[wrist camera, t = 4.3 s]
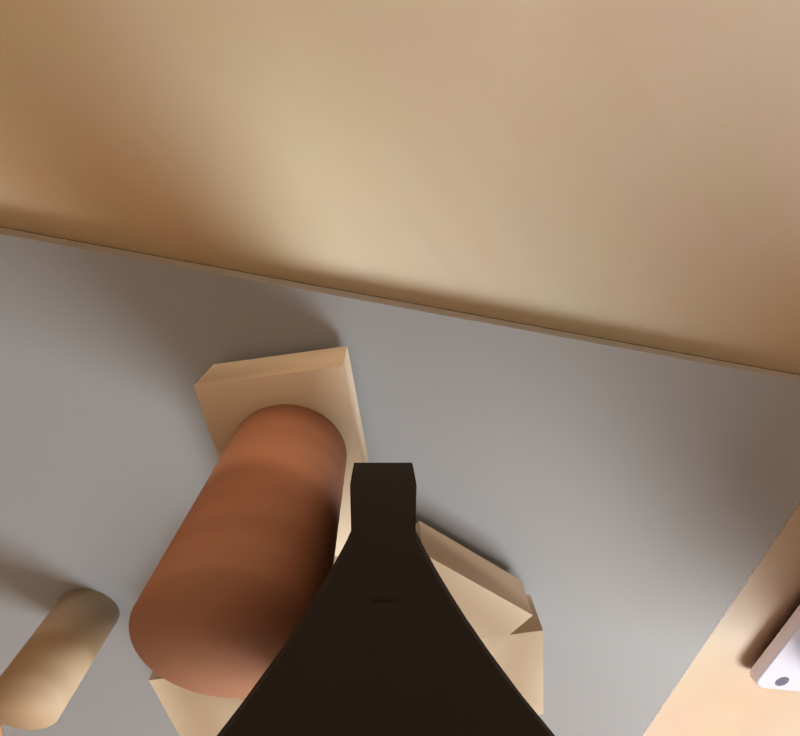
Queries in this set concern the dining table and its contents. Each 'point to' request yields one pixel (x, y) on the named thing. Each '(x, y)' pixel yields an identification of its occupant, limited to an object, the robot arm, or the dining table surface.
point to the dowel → (55, 659)
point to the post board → (386, 443)
